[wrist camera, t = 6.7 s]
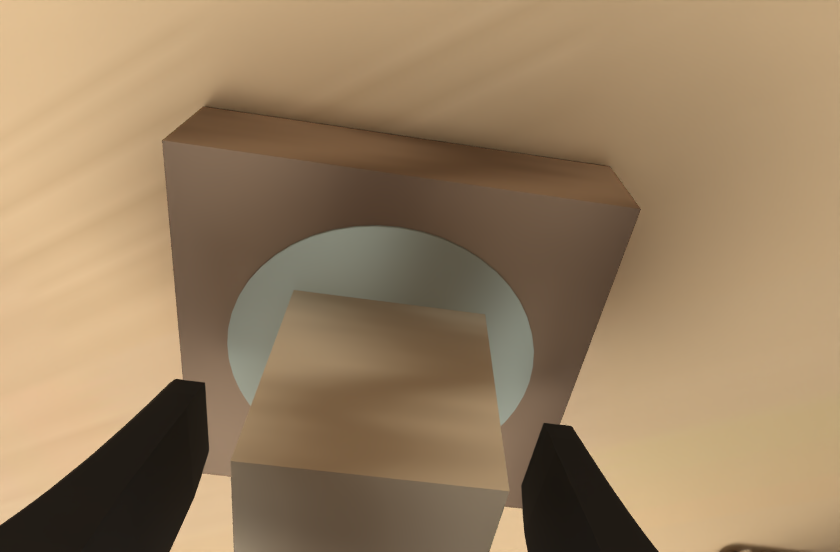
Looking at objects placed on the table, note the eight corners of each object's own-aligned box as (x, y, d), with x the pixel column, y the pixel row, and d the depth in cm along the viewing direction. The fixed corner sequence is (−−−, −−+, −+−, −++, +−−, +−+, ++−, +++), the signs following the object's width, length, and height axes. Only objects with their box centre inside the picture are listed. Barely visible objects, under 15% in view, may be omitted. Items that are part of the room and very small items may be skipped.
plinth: (609, 166, 15) (642, 211, 12) (517, 445, 20) (528, 512, 17) (203, 106, 14) (160, 142, 12) (217, 410, 19) (189, 474, 17)
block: (485, 314, 14) (509, 491, 10) (452, 446, 16) (460, 636, 12) (294, 289, 14) (230, 461, 9) (289, 428, 16) (236, 615, 12)
